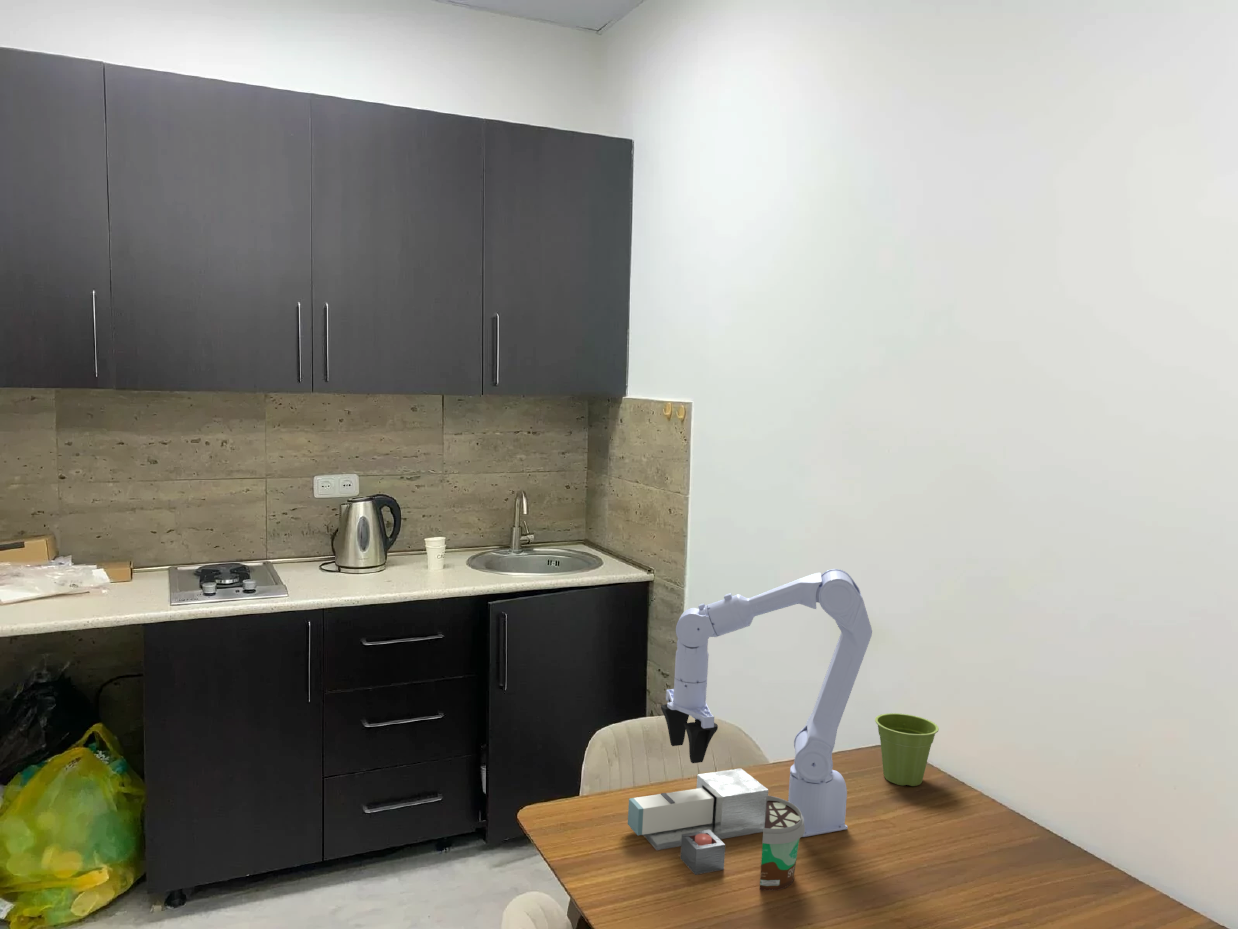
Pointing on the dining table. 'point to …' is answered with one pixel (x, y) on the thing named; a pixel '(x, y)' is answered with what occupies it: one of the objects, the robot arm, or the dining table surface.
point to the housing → (724, 808)
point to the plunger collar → (702, 853)
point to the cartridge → (670, 811)
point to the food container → (780, 843)
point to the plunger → (703, 839)
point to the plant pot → (905, 746)
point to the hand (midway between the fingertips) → (686, 753)
